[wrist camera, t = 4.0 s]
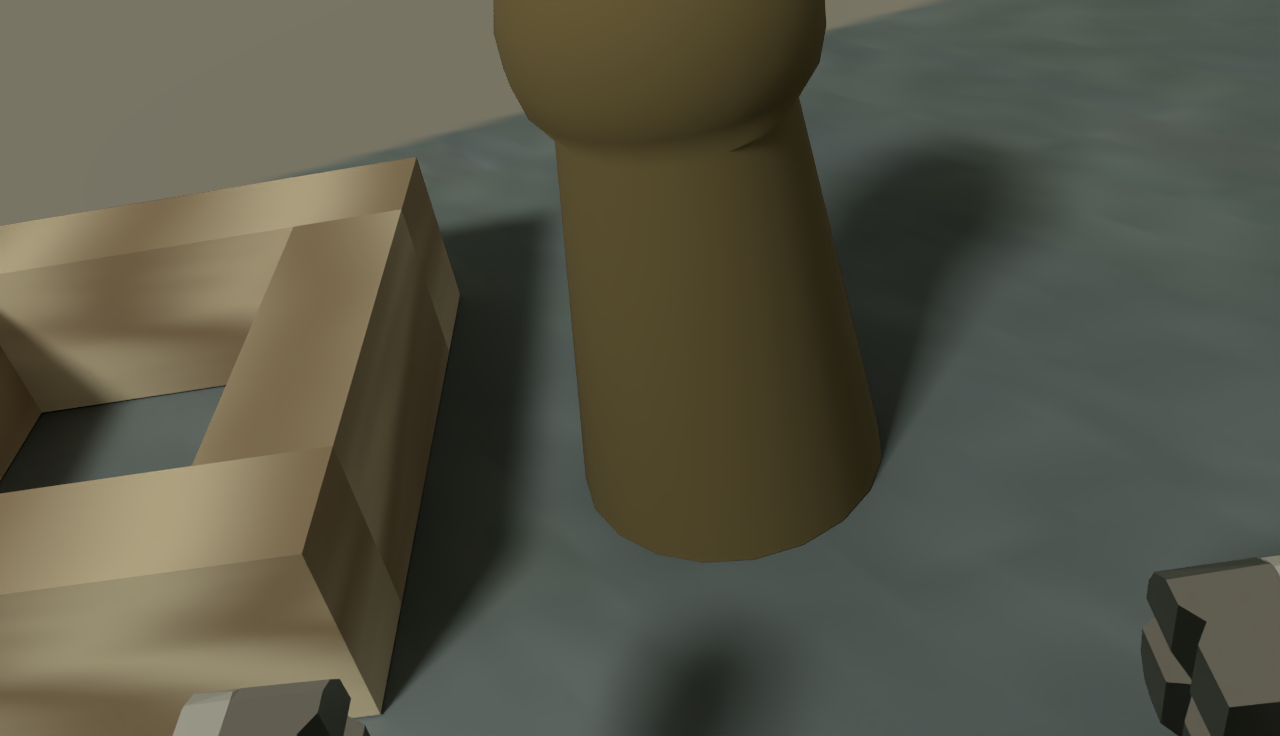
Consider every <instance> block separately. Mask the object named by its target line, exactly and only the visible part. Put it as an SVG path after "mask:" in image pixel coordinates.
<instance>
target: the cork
mask: <svg viewBox="0 0 1280 736" xmlns="http://www.w3.org/2000/svg"><path fill="white" fill-rule="evenodd" d="M825 29H826V14H825V0H494V36H495V39H496V43H497V47H498V50H499V54H500V58H501V62H502V65H503V69H504V71H505V74H506V76H507V79H508V81H509V84H510V86H511V88H512V90H513V92H514V94H515V96H516V98H517V99H518V101H519V103H520V105H521V106H522V108H523V110H524V112H525V114H526V116H527V117H528V119H529V120H530V121H531V122H533V123H534V124H535V125H536V126H537V127H539V128H540V129H541V130H542V131H543V132H545V133H546V134H547V135H548V136H550V137H551V138H552V139H553V140H554V141H555V147H556V158H557V169H558V180H559V191H560V201H561V212H562V223H563V234H564V245H565V256H566V267H567V278H568V288H569V299H570V310H571V321H572V332H573V343H574V354H575V365H576V376H577V386H578V397H579V408H580V419H581V430H582V441H583V452H584V463H585V473H586V480H587V484H588V487H589V490H590V493H591V496H592V500H593V503H594V506H595V509H596V510H597V511H598V512H599V513H600V514H601V516H602V517H603V518H604V519H605V520H606V521H607V522H608V523H609V524H610V525H611V526H612V528H613V529H614V530H615V531H616V532H617V533H618V534H619V535H620V536H622V537H624V538H626V539H628V540H630V541H632V542H634V543H636V544H638V545H640V546H642V547H644V548H646V549H648V550H650V551H652V552H654V553H656V554H660V555H666V556H671V557H677V558H682V559H687V560H693V561H698V562H719V561H736V560H752V559H757V558H761V557H764V556H767V555H771V554H774V553H777V552H780V551H784V550H787V549H790V548H794V547H797V546H800V545H803V544H805V543H807V542H808V541H810V540H812V539H813V538H815V537H817V536H818V535H820V534H822V533H823V532H825V531H827V530H828V529H830V528H831V527H833V526H835V525H836V524H838V523H840V522H841V521H843V520H844V519H845V518H846V517H847V516H848V514H849V513H850V512H851V511H852V510H853V509H854V508H855V507H856V505H857V504H858V503H859V502H860V501H861V500H862V499H863V498H864V496H865V495H866V494H867V493H868V492H869V491H870V489H871V487H872V484H873V481H874V478H875V475H876V472H877V470H878V467H879V464H880V461H881V458H882V453H881V445H880V437H879V429H878V423H877V419H876V415H875V411H874V407H873V402H872V398H871V394H870V390H869V386H868V382H867V378H866V373H865V369H864V365H863V361H862V357H861V353H860V349H859V344H858V340H857V336H856V332H855V328H854V324H853V319H852V315H851V311H850V307H849V303H848V299H847V295H846V290H845V286H844V282H843V278H842V274H841V270H840V266H839V261H838V257H837V253H836V249H835V245H834V241H833V237H832V232H831V228H830V224H829V220H828V216H827V212H826V207H825V203H824V199H823V195H822V191H821V187H820V183H819V178H818V174H817V170H816V166H815V162H814V158H813V154H812V149H811V145H810V141H809V137H808V133H807V129H806V125H805V120H804V116H803V112H802V108H801V104H800V100H799V96H800V94H801V92H802V91H803V89H804V87H805V86H806V84H807V82H808V81H809V79H810V77H811V76H812V74H813V72H814V71H815V69H816V68H817V66H818V64H819V62H820V57H821V51H822V46H823V40H824V35H825Z"/></svg>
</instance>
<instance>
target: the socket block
mask: <svg viewBox="0 0 1280 736" xmlns="http://www.w3.org/2000/svg"><path fill="white" fill-rule="evenodd" d="M459 297H460V293H459V290H458V287H457V283H456V280H455V277H454V274H453V271H452V268H451V264H450V261H449V258H448V255H447V252H446V249H445V246H444V242H443V239H442V236H441V233H440V230H439V227H438V223H437V220H436V217H435V214H434V211H433V208H432V204H431V201H430V198H429V195H428V192H427V189H426V185H425V182H424V179H423V176H422V173H421V170H420V166H419V163H418V160H417V157H414V158H408V159H402V160H396V161H390V162H384V163H378V164H372V165H366V166H360V167H354V168H348V169H342V170H336V171H329V172H323V173H317V174H311V175H305V176H299V177H293V178H287V179H281V180H275V181H269V182H263V183H257V184H251V185H245V186H238V187H232V188H226V189H221V190H214V191H208V192H202V193H196V194H190V195H184V196H178V197H172V198H166V199H160V200H154V201H148V202H142V203H136V204H130V205H123V206H118V207H111V208H105V209H99V210H93V211H87V212H81V213H75V214H69V215H63V216H57V217H51V218H44V219H39V220H33V221H26V222H21V223H14V224H8V225H2V226H0V480H1V479H2V477H3V476H4V474H5V472H6V471H7V469H8V467H9V466H10V464H11V462H12V461H13V459H14V457H15V456H16V454H17V452H18V451H19V449H20V448H21V446H22V444H23V443H24V441H25V439H26V438H27V436H28V434H29V433H30V431H31V429H32V428H33V426H34V424H35V423H36V421H37V420H38V418H39V416H40V415H41V413H43V412H50V411H56V410H63V409H70V408H76V407H83V406H90V405H96V404H103V403H110V402H117V401H123V400H130V399H137V398H143V397H150V396H157V395H163V394H170V393H177V392H184V391H190V390H197V389H204V388H210V387H217V386H224V385H226V387H225V389H224V391H223V394H222V396H221V399H220V401H219V403H218V406H217V408H216V410H215V413H214V415H213V417H212V420H211V422H210V424H209V427H208V429H207V432H206V434H205V436H204V439H203V441H202V443H201V446H200V448H199V450H198V453H197V455H196V457H195V460H194V462H193V464H192V466H189V467H182V468H175V469H168V470H161V471H154V472H147V473H140V474H133V475H126V476H119V477H112V478H105V479H98V480H91V481H84V482H77V483H70V484H63V485H57V486H50V487H43V488H36V489H29V490H22V491H15V492H8V493H1V494H0V736H173V733H174V730H175V727H176V724H177V721H178V719H179V716H180V713H181V710H182V708H183V707H184V705H185V704H186V703H187V702H188V700H189V699H190V698H191V697H192V696H193V694H196V693H205V692H214V691H222V690H231V689H240V688H248V687H258V686H268V685H277V684H287V683H297V682H307V681H317V680H327V679H340V680H341V682H342V684H343V685H344V687H345V689H346V690H347V692H348V694H349V696H350V697H351V702H350V707H349V712H348V716H349V717H351V718H356V717H364V716H372V715H380V714H381V709H382V704H383V698H384V693H385V688H386V683H387V677H388V672H389V667H390V661H391V656H392V651H393V646H394V640H395V635H396V630H397V625H398V619H399V614H400V609H401V603H402V598H403V593H404V588H405V582H406V577H407V572H408V566H409V561H410V556H411V551H412V545H413V540H414V535H415V529H416V524H417V519H418V514H419V508H420V503H421V498H422V493H423V487H424V482H425V477H426V471H427V466H428V461H429V456H430V450H431V445H432V440H433V434H434V429H435V424H436V419H437V413H438V408H439V403H440V397H441V392H442V387H443V382H444V376H445V371H446V366H447V361H448V355H449V350H450V345H451V339H452V334H453V329H454V324H455V318H456V313H457V308H458V302H459Z"/></svg>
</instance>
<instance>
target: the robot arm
mask: <svg viewBox="0 0 1280 736" xmlns="http://www.w3.org/2000/svg"><path fill="white" fill-rule="evenodd" d="M1146 598H1147V601H1148V603H1149V605H1150V607H1151V609H1152V612H1153V614H1154V616H1155V617H1154V618H1153V619H1152V620H1151V621H1150V622H1149V623H1148V624H1147V625H1146V626H1145V627H1144V628H1143V629H1142V642H1141V657H1142V665H1143V672H1144V679H1145V682H1146V685H1147V689H1148V692H1149V695H1150V699H1151V701H1152V704H1153V706H1154V709H1155V711H1156V713H1157V716H1158V718H1159V721H1160V723H1161V724H1162V725H1164V726H1165V727H1167V728H1168V729H1169V730H1171V731H1172V732H1174V733H1175V734H1176V735H1178V736H1280V555H1279V556H1271V557H1263V558H1261V559H1258V558H1248V559H1241V560H1234V561H1227V562H1220V563H1213V564H1206V565H1199V566H1192V567H1185V568H1178V569H1171V570H1164V571H1156V572H1154V573H1153V575H1152V576H1151V578H1150V579H1149V583H1148V590H1147V597H1146ZM350 702H351V697H350V696H349V694H348V692H347V690H346V689H345V687H344V685H343V684H342V682H341V680H340V679H327V680H317V681H307V682H297V683H287V684H277V685H268V686H258V687H248V688H240V689H231V690H222V691H214V692H205V693H196V694H193V696H192V697H191V698H190V699H189V700H188V702H187V703H186V704H185V705H184V707H183V708H182V710H181V713H180V716H179V719H178V721H177V724H176V727H175V730H174V733H173V736H370V734H369V732H368V730H367V728H366V726H365V725H364V724H362V723H360V722H358V721H357V720H355V719H353V718H351V717H349V716H348V712H349V707H350Z"/></svg>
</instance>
